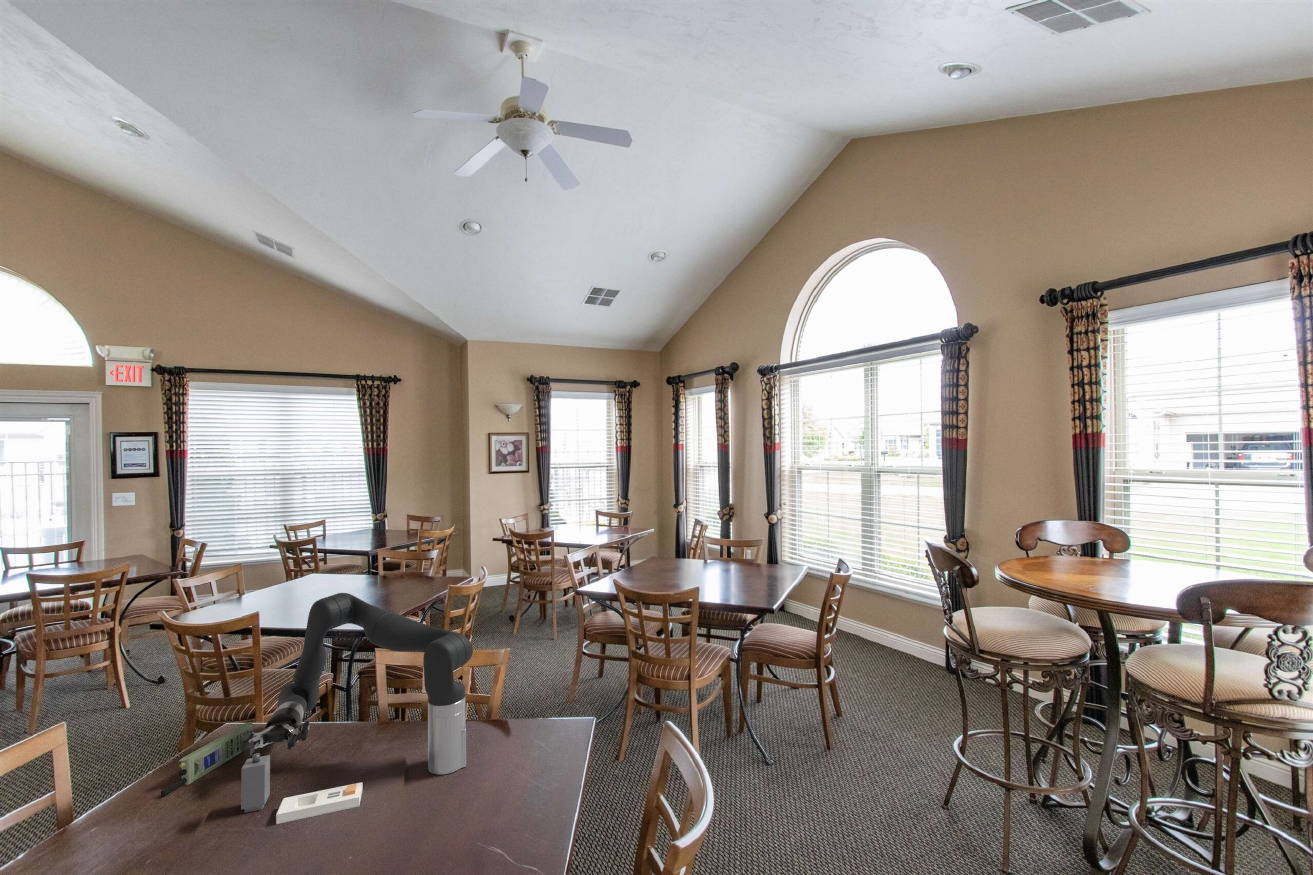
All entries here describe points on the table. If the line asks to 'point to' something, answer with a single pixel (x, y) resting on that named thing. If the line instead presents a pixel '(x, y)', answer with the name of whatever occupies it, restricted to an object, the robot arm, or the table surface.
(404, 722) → the table surface
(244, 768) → the charger
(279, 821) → the power strip
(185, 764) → the handheld radio
